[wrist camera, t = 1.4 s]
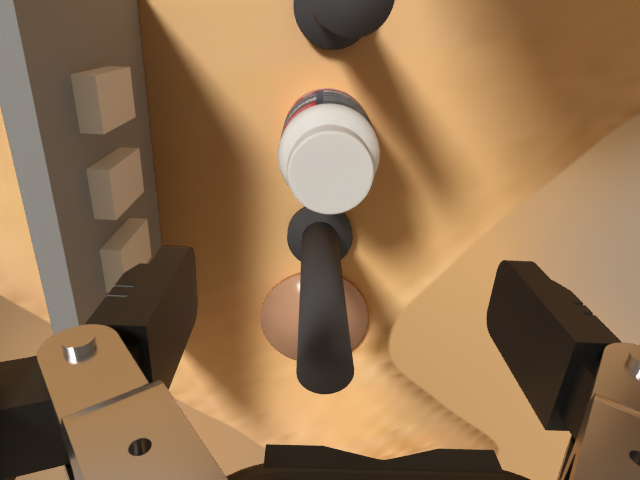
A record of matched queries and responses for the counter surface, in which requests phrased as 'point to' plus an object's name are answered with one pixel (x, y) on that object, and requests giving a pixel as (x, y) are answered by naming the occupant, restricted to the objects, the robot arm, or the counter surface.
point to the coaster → (284, 315)
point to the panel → (79, 145)
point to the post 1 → (340, 20)
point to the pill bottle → (328, 151)
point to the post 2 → (322, 300)
